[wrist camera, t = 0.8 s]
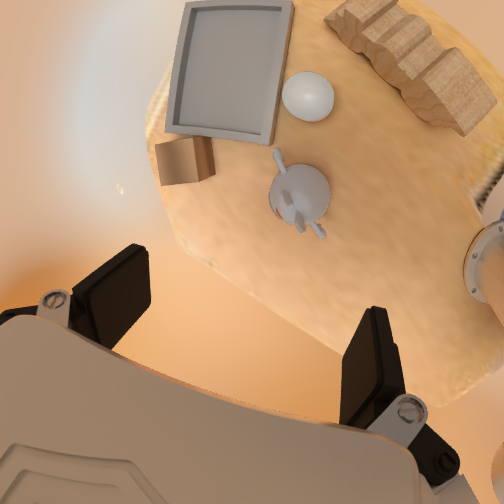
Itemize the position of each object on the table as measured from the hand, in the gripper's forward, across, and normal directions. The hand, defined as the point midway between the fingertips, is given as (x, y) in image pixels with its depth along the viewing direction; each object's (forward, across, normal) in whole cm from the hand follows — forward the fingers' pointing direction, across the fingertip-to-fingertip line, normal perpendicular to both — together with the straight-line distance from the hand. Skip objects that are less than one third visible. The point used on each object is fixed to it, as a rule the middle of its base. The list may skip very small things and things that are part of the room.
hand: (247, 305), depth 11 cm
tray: (+24, +11, -13) cm, 29 cm away
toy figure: (+24, 0, 0) cm, 24 cm away
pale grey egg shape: (+24, +1, -10) cm, 26 cm away
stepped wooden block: (+24, -8, -17) cm, 31 cm away
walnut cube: (+24, +14, -1) cm, 28 cm away
